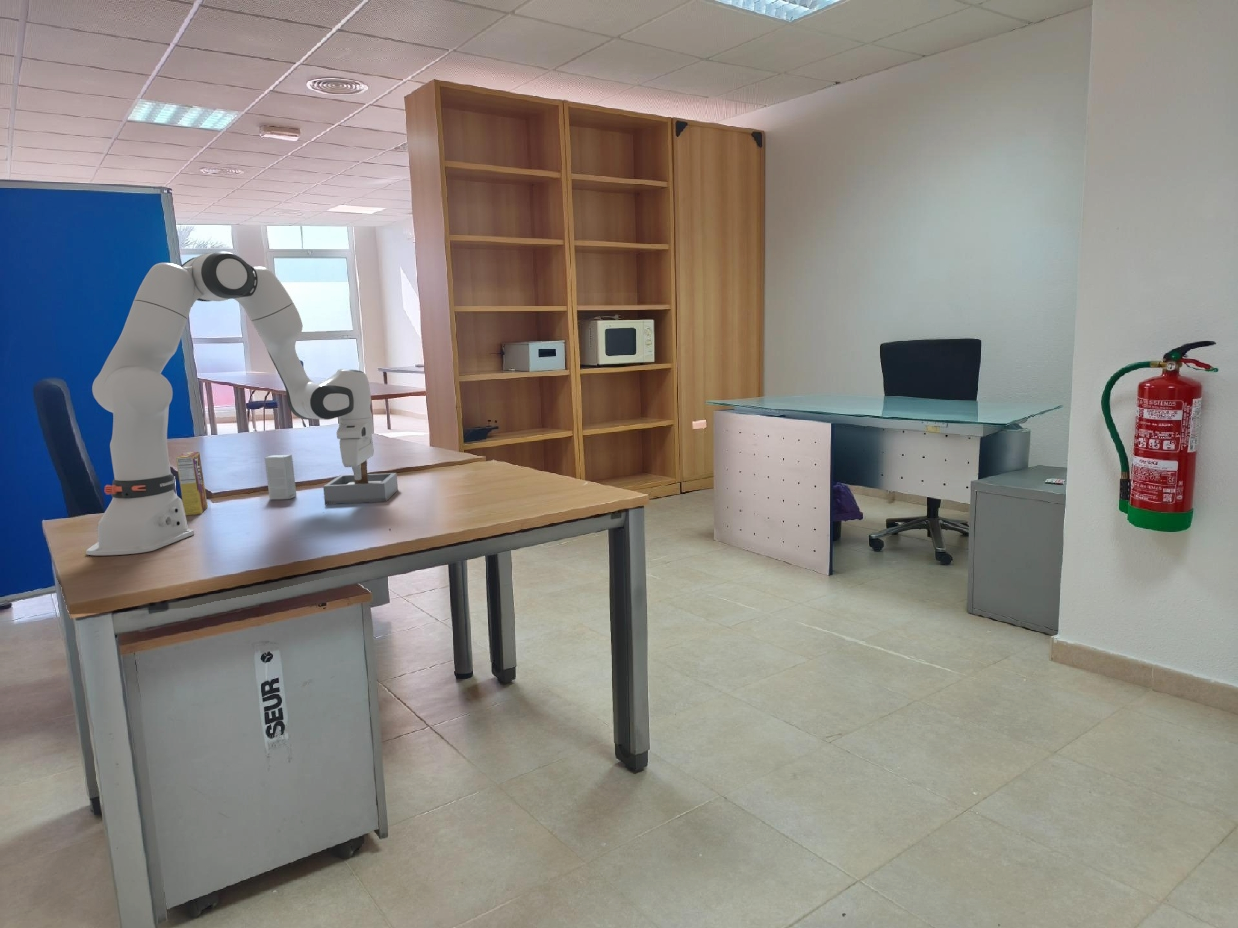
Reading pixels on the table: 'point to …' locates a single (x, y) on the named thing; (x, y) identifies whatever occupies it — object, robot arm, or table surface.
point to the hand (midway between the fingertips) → (360, 478)
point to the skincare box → (280, 477)
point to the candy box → (191, 483)
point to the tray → (360, 489)
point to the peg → (363, 474)
